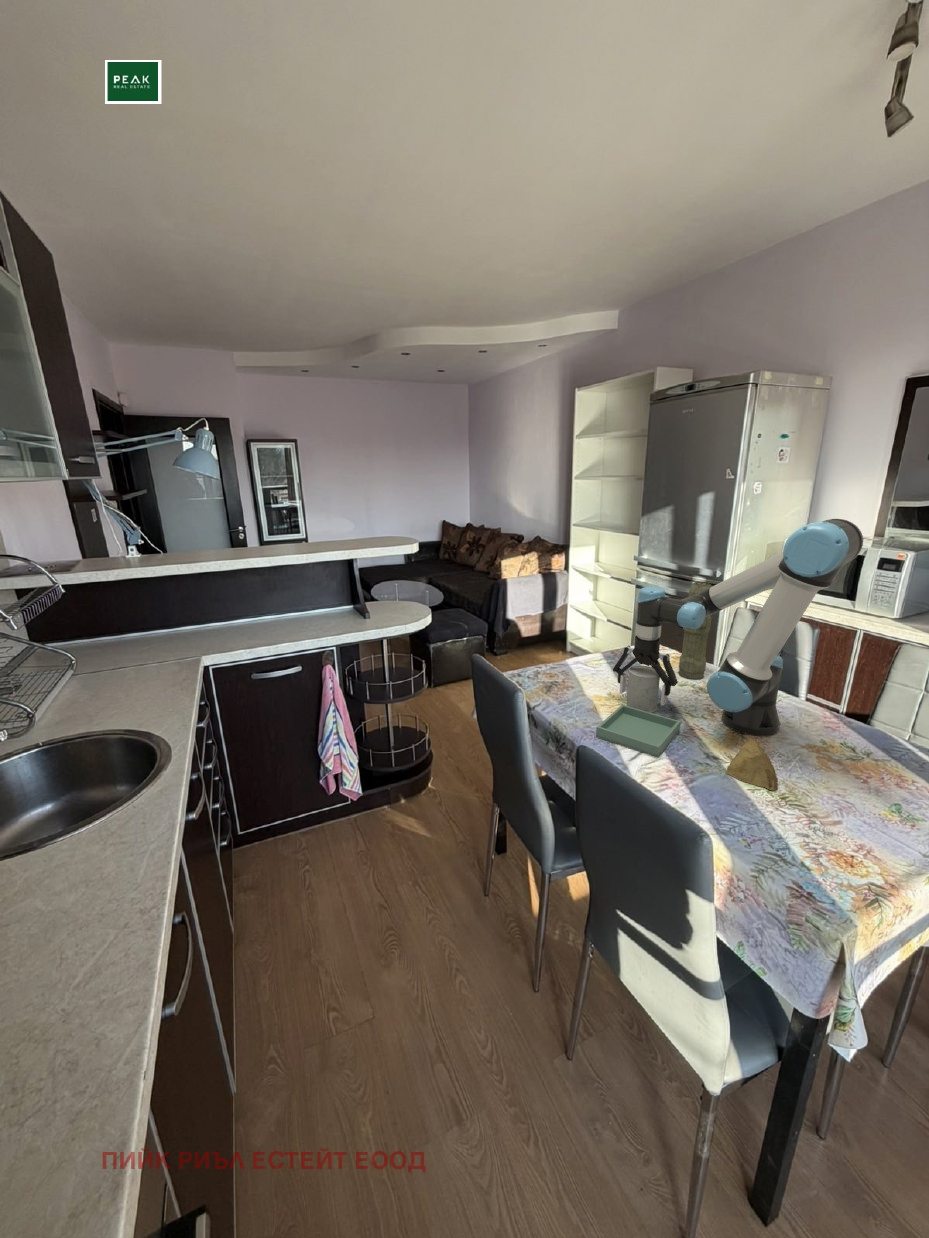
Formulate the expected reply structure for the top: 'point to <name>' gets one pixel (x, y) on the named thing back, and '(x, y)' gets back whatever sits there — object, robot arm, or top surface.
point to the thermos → (695, 643)
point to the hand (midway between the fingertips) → (642, 698)
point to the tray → (638, 730)
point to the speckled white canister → (643, 688)
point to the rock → (753, 766)
